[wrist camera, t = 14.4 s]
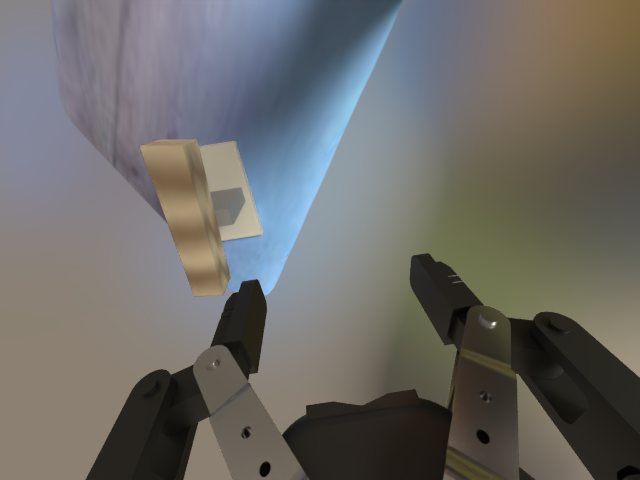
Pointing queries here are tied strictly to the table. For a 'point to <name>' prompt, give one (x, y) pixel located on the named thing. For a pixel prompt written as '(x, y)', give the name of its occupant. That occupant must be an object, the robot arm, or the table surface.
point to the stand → (230, 191)
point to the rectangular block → (189, 212)
